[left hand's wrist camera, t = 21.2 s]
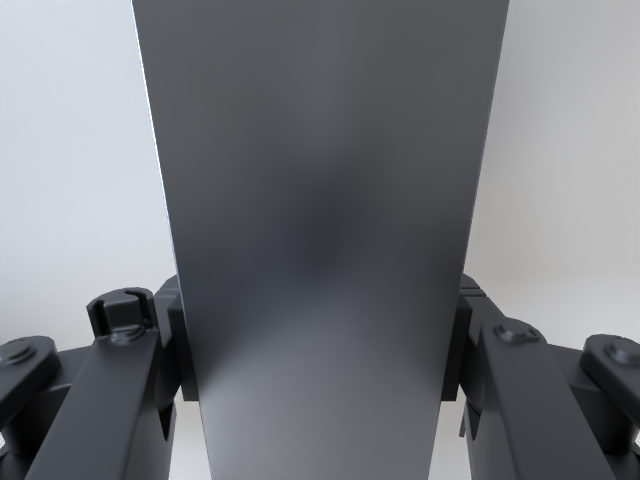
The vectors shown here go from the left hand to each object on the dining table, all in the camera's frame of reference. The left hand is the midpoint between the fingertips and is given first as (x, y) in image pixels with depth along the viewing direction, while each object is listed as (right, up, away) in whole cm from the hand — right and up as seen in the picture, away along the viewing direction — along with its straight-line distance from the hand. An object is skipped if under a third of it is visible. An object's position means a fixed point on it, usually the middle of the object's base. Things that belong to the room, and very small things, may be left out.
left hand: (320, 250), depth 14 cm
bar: (0, +10, -3) cm, 10 cm away
